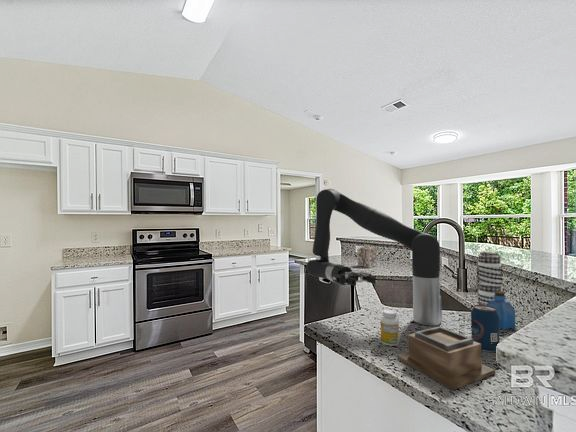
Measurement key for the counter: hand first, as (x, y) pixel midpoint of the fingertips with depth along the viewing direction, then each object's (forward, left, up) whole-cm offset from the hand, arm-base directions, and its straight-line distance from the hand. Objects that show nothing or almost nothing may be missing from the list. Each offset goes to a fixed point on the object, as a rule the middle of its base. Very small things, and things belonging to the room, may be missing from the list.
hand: (365, 281), depth 99 cm
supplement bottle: (0, +11, -17) cm, 20 cm away
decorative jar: (-94, -111, -17) cm, 146 cm away
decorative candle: (-60, +7, -17) cm, 63 cm away
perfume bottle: (-47, +17, -17) cm, 53 cm away
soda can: (-23, +26, -17) cm, 39 cm away
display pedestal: (-2, +28, -17) cm, 33 cm away
